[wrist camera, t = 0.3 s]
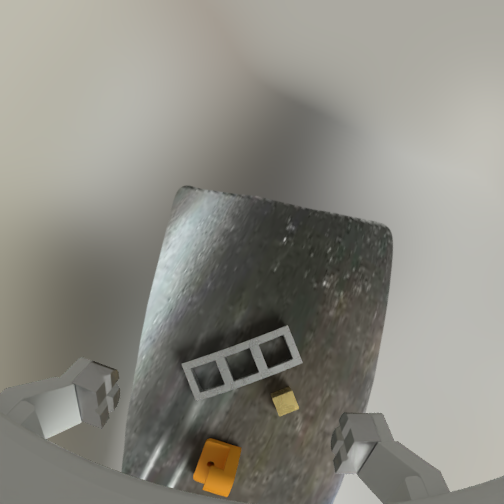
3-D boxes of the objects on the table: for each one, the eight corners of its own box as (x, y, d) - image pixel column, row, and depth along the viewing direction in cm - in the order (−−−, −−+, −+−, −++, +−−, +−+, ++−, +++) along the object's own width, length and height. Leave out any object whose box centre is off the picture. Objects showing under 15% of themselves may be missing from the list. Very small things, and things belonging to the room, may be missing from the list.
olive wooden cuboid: (295, 403, 58) (299, 408, 53) (277, 410, 57) (279, 416, 53) (288, 386, 59) (292, 390, 54) (270, 393, 58) (272, 398, 54)
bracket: (208, 435, 56) (198, 456, 44) (241, 446, 55) (239, 469, 44) (194, 474, 53) (183, 499, 42) (226, 484, 53) (221, 511, 41)
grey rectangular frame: (300, 361, 60) (302, 362, 57) (198, 398, 58) (196, 401, 55) (286, 325, 62) (287, 325, 59) (184, 362, 60) (181, 363, 57)
